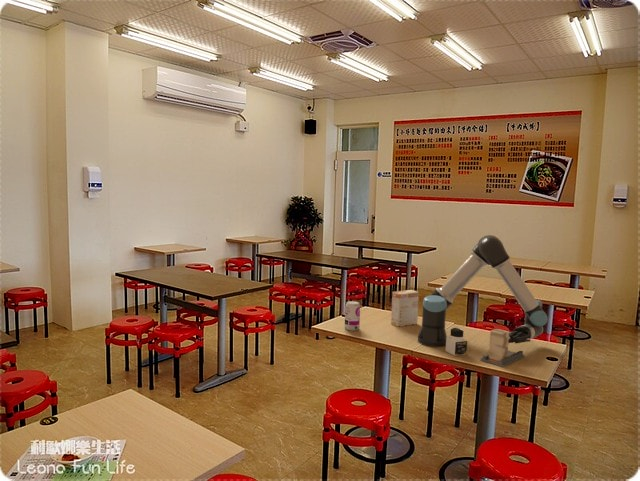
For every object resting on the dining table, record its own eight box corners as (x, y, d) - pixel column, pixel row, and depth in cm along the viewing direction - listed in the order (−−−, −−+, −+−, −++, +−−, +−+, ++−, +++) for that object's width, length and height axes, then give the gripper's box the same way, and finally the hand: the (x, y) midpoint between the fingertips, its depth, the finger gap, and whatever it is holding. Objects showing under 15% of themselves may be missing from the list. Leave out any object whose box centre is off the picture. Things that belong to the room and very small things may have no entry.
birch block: (494, 355, 221) (496, 328, 220) (507, 358, 216) (509, 331, 215) (488, 358, 217) (490, 330, 215) (501, 361, 212) (503, 333, 211)
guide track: (502, 350, 232) (502, 346, 232) (524, 357, 224) (525, 351, 224) (480, 360, 217) (480, 355, 217) (503, 367, 209) (503, 361, 209)
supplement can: (361, 328, 263) (362, 302, 261) (354, 331, 256) (355, 305, 255) (349, 326, 267) (350, 300, 266) (341, 329, 260) (343, 302, 259)
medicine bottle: (454, 356, 221) (456, 331, 220) (445, 351, 228) (446, 327, 227) (466, 354, 224) (468, 330, 223) (456, 350, 231) (458, 326, 230)
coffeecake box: (409, 321, 283) (411, 289, 281) (417, 324, 276) (419, 291, 275) (390, 323, 275) (391, 291, 273) (398, 327, 269) (399, 293, 267)
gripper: (536, 343, 230) (515, 353, 214) (510, 337, 239) (488, 346, 223) (537, 328, 229) (516, 337, 213) (511, 323, 239) (489, 330, 222)
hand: (502, 342), depth 218 cm, fingers closed
